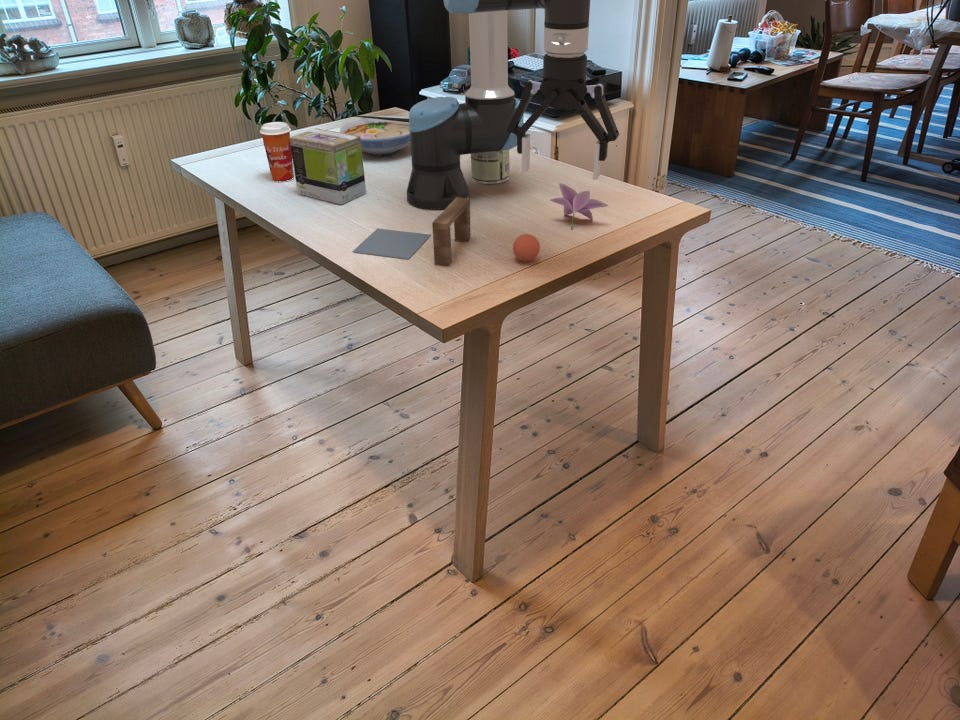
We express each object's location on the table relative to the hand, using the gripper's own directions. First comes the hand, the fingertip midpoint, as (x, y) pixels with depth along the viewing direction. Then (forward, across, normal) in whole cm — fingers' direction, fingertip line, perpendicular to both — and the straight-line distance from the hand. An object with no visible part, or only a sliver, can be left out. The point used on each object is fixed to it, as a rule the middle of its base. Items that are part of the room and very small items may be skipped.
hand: (560, 174), depth 140 cm
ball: (+17, -7, +3) cm, 19 cm away
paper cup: (+19, -83, +31) cm, 91 cm away
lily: (+20, -2, +25) cm, 32 cm away
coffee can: (+20, -31, +48) cm, 60 cm away
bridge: (+20, -23, +2) cm, 31 cm away
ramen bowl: (+19, -68, +60) cm, 93 cm away
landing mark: (+20, -37, +2) cm, 42 cm away
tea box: (+20, -65, +25) cm, 72 cm away
